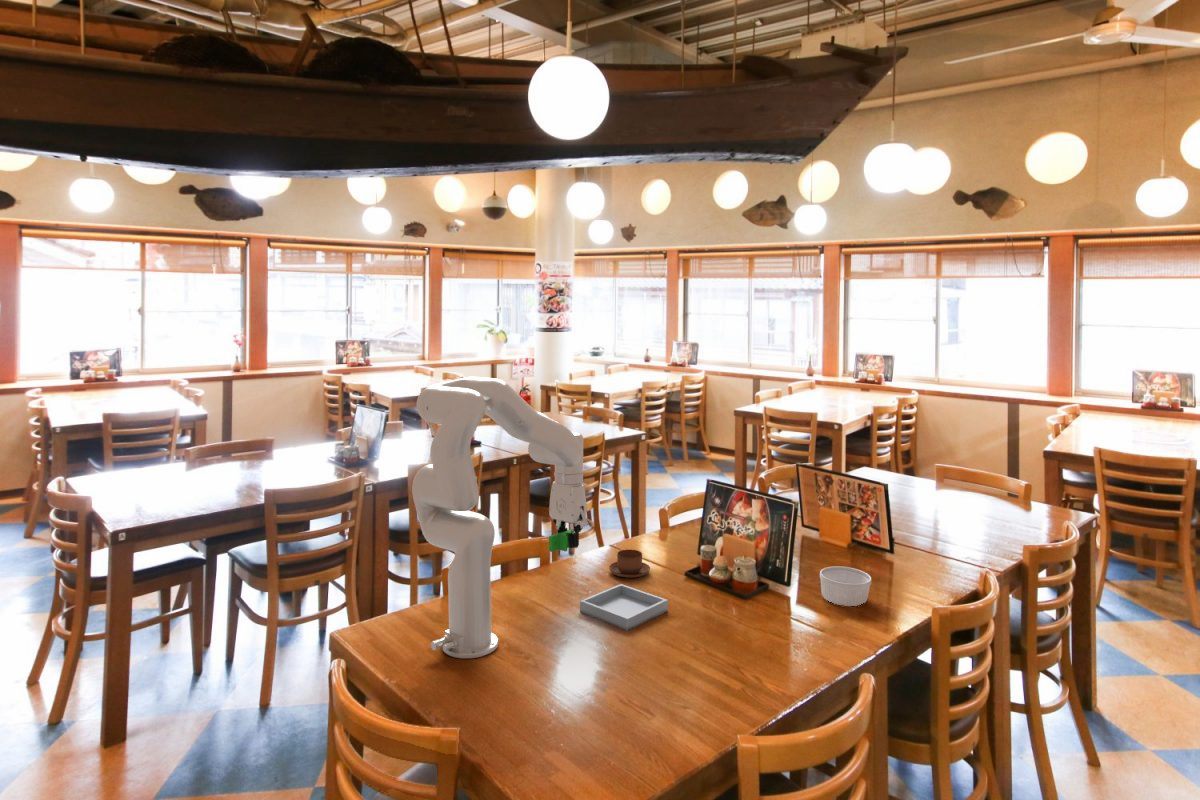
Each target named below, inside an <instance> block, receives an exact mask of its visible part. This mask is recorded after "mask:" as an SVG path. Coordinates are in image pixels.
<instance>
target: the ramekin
mask: <svg viewBox="0 0 1200 800" xmlns="http://www.w3.org/2000/svg"><path fill="white" fill-rule="evenodd" d="M819 578H820V590H821V596H822V597H823V599H824V600H825V599H826V600H825V601H827V600H828V601H829V603H830V602H832V603H834V604H833V605H835V604H838V605H845V606H857V605H861V604H863V603H864V604H866V602H867V601H868V598H869V593H870V588H871V585H872V577H871V575H870V574H869V573H867V572H865V571H863V570H860V569H857V568H855V567H854V568H853V567H848V566H835V565H833V566H828V567H824V568H822V569H821V570H820V571H819ZM828 601H827V602H828ZM832 603H831V604H832ZM864 604H863V605H864ZM838 605H837V606H838ZM861 606H862V605H861Z"/></svg>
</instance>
